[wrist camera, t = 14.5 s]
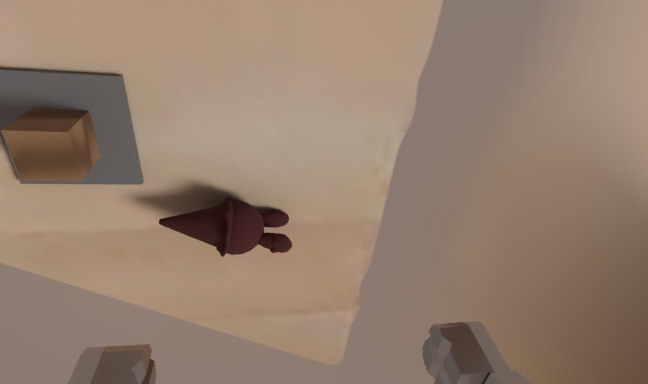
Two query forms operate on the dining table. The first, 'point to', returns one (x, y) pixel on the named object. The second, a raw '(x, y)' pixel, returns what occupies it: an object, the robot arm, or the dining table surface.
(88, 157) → the cube
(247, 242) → the icecream
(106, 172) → the coaster
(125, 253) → the dining table surface
